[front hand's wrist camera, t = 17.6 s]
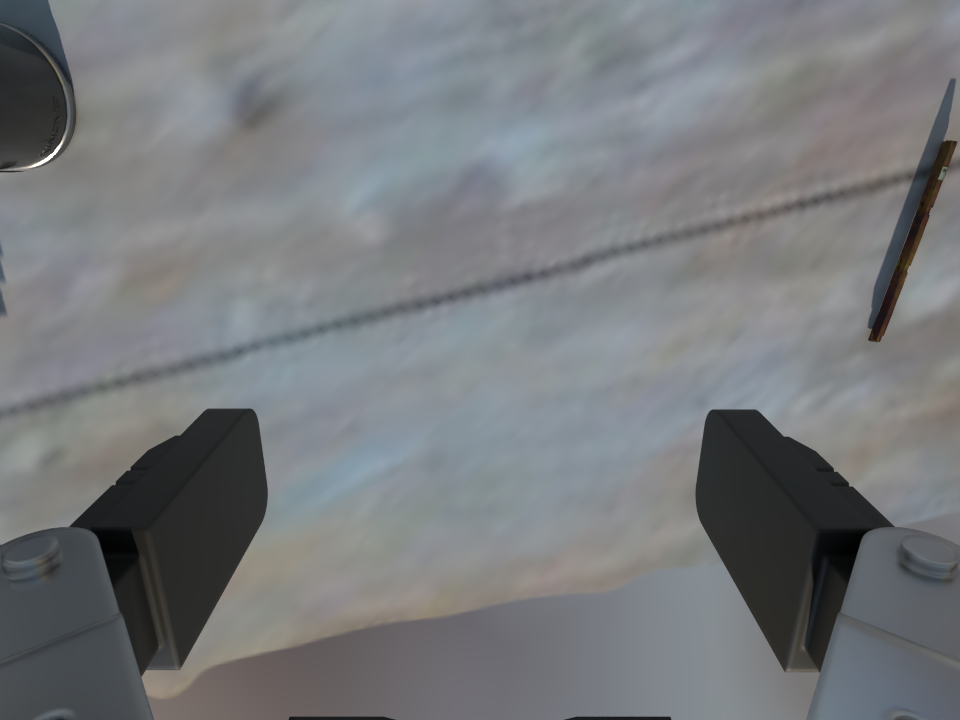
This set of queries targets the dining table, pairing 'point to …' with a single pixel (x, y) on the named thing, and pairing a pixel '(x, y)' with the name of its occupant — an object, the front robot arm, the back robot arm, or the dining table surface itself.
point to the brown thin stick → (913, 239)
